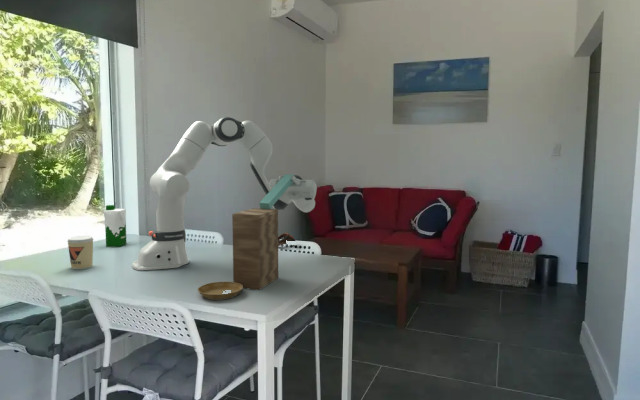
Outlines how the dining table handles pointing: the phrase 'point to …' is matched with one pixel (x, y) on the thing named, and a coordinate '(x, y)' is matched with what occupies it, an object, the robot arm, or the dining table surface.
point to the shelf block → (255, 247)
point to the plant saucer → (219, 290)
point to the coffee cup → (81, 252)
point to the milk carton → (115, 226)
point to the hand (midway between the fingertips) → (286, 177)
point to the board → (276, 192)
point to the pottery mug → (285, 238)
